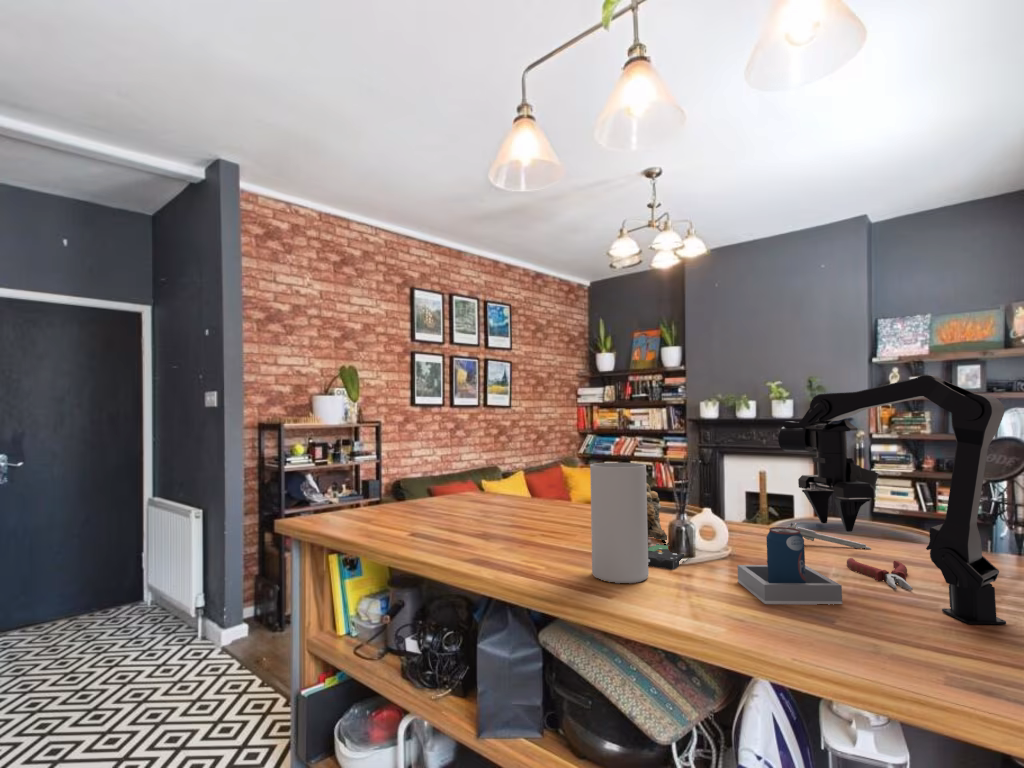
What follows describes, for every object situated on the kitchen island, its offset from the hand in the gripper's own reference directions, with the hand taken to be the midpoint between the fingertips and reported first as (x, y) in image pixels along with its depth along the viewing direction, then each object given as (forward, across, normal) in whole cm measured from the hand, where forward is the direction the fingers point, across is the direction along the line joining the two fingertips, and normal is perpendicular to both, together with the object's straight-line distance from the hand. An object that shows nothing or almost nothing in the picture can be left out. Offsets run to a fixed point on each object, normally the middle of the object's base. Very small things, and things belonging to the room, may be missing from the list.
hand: (836, 527), depth 117 cm
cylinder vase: (+12, +9, +44) cm, 47 cm away
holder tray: (+12, -3, +13) cm, 18 cm away
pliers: (+13, +8, -13) cm, 20 cm away
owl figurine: (+12, +43, +30) cm, 54 cm away
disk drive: (+13, +23, +31) cm, 40 cm away
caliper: (+13, +37, -18) cm, 43 cm away
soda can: (+12, -4, +12) cm, 18 cm away
